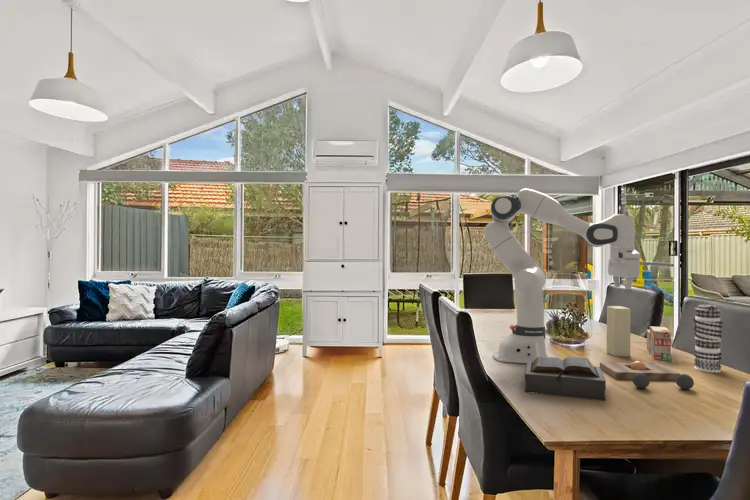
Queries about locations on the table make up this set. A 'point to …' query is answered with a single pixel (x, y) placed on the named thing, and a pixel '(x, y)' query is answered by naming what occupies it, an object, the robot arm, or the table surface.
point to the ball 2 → (684, 381)
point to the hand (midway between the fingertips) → (622, 288)
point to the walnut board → (638, 371)
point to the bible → (565, 377)
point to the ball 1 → (640, 380)
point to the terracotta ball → (638, 365)
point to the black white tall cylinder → (707, 338)
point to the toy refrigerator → (618, 330)
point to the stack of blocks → (659, 343)
